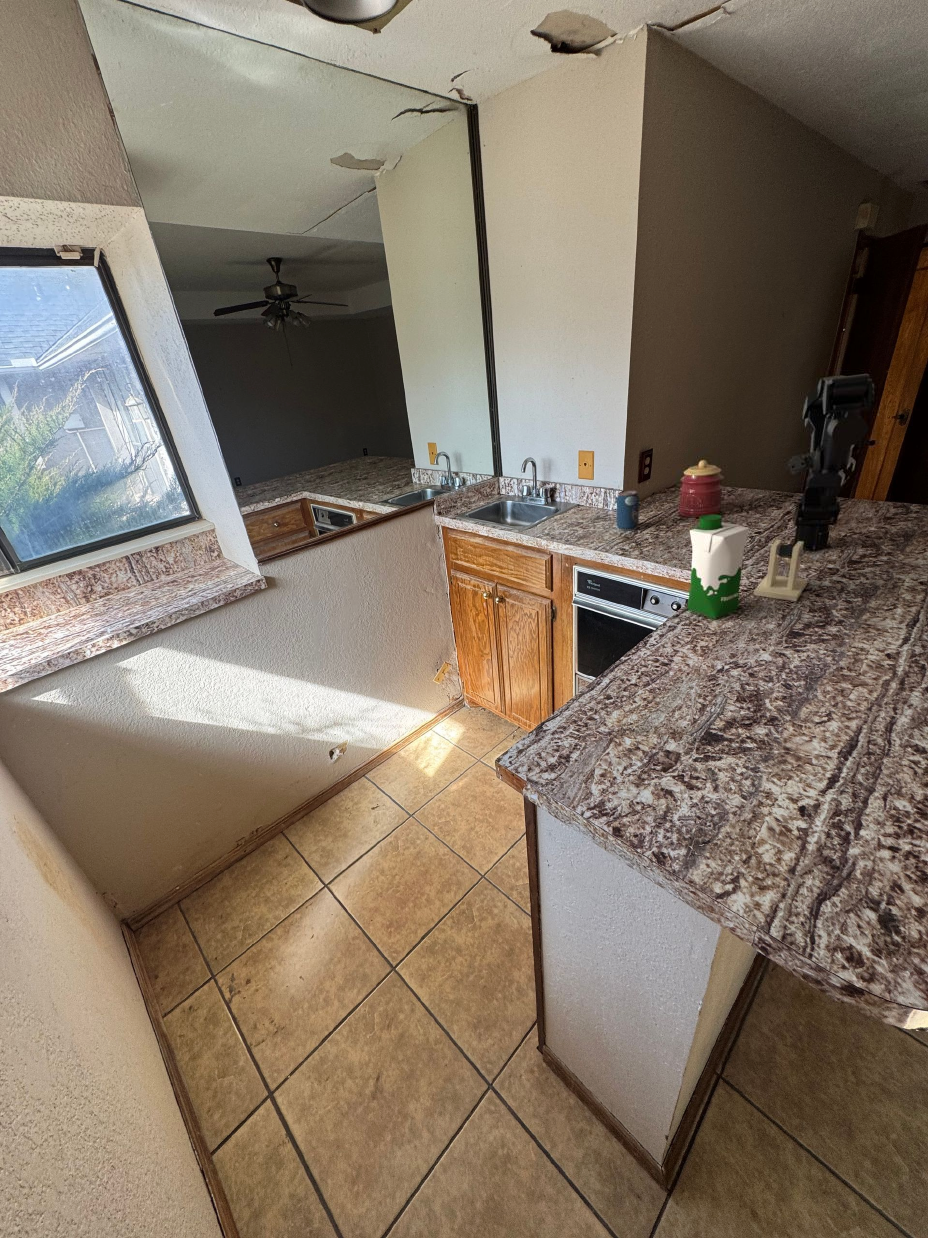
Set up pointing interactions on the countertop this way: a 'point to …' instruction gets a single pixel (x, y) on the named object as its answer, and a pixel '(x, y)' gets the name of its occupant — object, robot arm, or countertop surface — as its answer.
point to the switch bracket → (782, 585)
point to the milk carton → (716, 566)
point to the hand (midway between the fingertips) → (824, 509)
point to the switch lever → (786, 553)
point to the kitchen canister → (701, 490)
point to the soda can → (627, 510)
